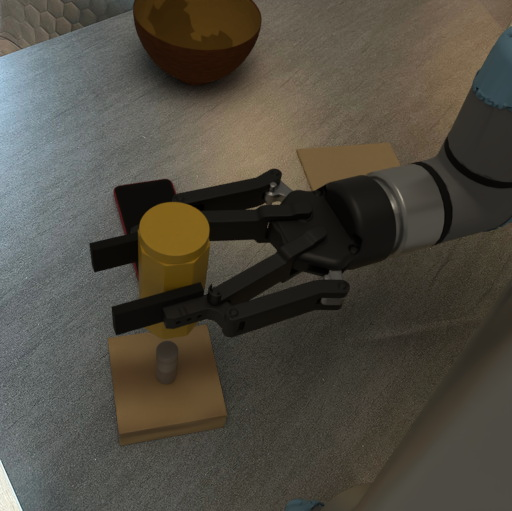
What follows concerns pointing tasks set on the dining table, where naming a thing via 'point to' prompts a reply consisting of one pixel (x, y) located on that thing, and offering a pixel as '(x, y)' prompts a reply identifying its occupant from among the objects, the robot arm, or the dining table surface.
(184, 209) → the jar
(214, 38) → the bowl
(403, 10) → the dining table surface
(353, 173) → the mat
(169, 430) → the stand
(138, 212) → the smartphone
